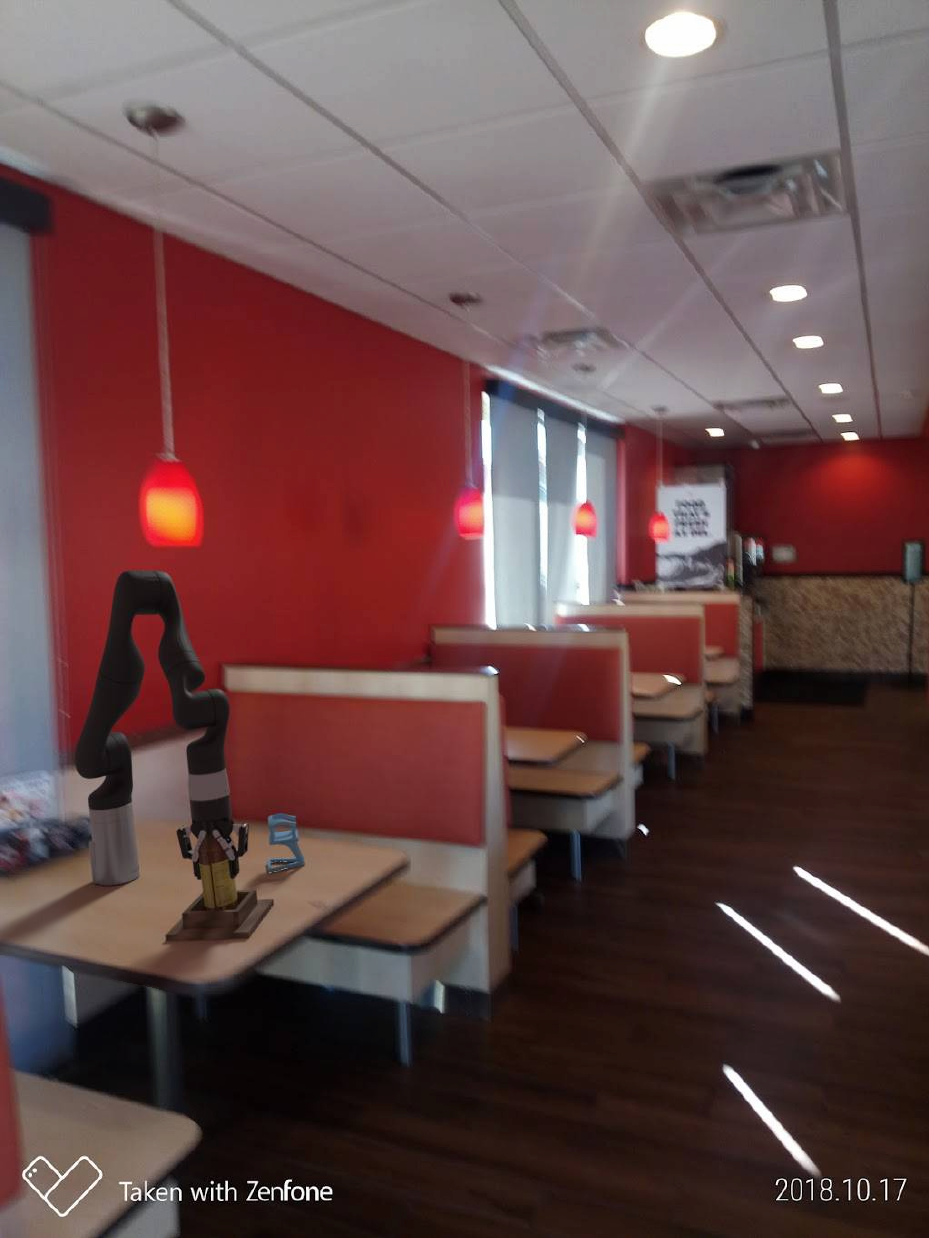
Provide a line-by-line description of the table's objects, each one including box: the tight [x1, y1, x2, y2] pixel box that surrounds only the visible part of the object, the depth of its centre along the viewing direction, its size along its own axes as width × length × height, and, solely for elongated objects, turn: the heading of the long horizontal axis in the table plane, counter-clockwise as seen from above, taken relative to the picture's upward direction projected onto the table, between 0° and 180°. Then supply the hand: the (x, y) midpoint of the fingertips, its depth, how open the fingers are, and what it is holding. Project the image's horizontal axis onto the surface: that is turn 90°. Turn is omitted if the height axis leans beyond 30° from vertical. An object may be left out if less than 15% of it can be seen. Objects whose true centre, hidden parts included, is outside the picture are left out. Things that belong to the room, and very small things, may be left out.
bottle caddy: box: [164, 889, 275, 942], centre depth 183 cm, size 16×16×4 cm
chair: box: [267, 813, 306, 873], centre depth 213 cm, size 8×8×12 cm
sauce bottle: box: [198, 821, 238, 911], centre depth 182 cm, size 7×6×20 cm
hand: (217, 877), depth 182 cm, fingers closed on sauce bottle, 6 cm apart
